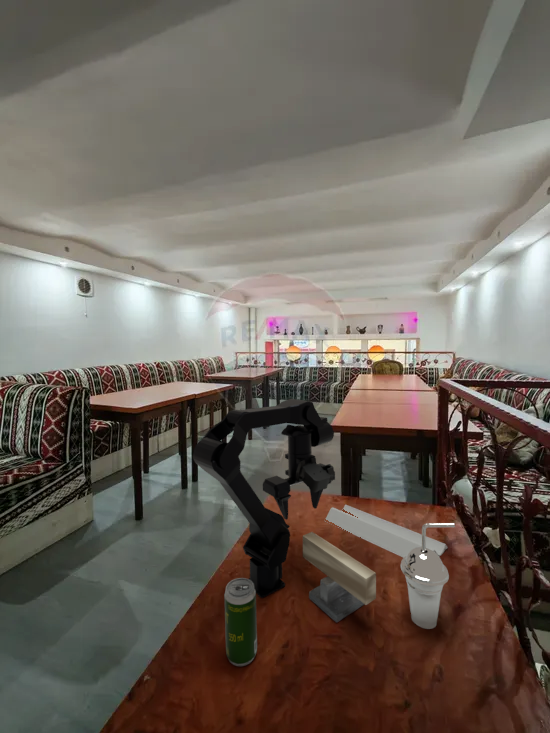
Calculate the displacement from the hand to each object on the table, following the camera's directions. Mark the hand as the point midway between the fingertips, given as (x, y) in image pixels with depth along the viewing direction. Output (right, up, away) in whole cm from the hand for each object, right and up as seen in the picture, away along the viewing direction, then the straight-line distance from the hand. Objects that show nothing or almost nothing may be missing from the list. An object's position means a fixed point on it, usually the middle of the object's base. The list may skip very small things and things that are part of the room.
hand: (300, 513), depth 85 cm
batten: (+6, -7, -14) cm, 17 cm away
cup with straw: (+23, -13, -19) cm, 32 cm away
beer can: (-12, -14, -25) cm, 31 cm away
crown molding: (+23, -12, +12) cm, 29 cm away
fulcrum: (+6, -13, -13) cm, 19 cm away
